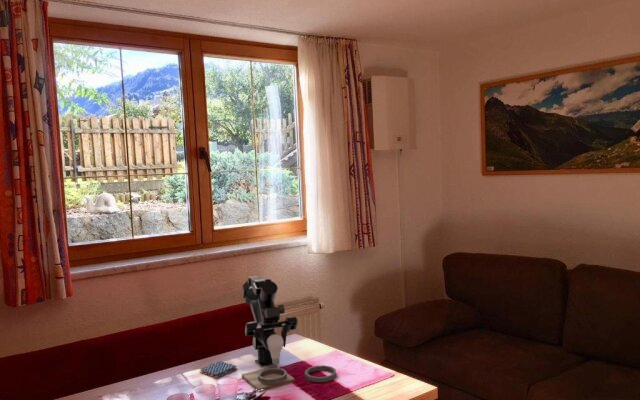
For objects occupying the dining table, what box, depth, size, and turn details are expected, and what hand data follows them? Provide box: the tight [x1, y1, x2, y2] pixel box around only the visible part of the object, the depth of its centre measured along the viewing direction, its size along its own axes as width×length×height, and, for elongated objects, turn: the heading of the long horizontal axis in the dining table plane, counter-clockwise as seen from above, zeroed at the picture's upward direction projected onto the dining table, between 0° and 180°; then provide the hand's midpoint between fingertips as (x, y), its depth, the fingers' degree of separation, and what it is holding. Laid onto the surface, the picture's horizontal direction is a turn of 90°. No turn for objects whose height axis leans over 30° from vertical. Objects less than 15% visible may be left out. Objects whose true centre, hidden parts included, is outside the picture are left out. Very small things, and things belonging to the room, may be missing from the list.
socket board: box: [241, 365, 296, 391], centre depth 178 cm, size 15×14×2 cm
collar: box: [304, 365, 337, 383], centre depth 180 cm, size 11×11×2 cm
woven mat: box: [199, 360, 238, 379], centre depth 188 cm, size 10×11×2 cm
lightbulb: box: [267, 333, 284, 366], centre depth 176 cm, size 6×6×11 cm
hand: (275, 347), depth 175 cm, fingers closed on lightbulb, 6 cm apart
